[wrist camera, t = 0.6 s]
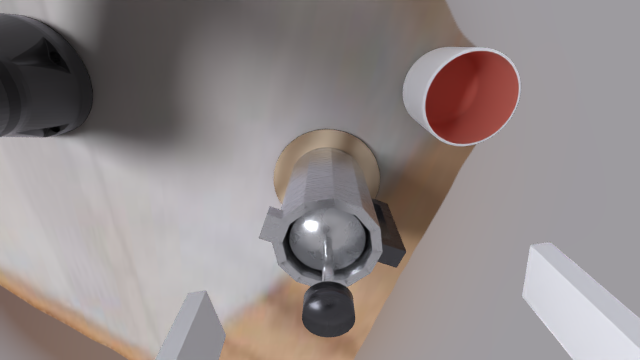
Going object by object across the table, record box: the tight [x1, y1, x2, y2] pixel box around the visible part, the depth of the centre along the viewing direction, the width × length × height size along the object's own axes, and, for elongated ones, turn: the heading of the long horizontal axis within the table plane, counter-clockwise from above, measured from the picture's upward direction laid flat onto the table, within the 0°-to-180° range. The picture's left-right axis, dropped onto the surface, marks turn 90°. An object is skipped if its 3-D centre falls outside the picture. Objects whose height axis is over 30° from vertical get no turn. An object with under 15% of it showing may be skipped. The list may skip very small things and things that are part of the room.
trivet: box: [274, 129, 380, 204], centre depth 46 cm, size 16×16×1 cm
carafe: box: [259, 147, 406, 287], centre depth 38 cm, size 16×11×16 cm
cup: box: [403, 47, 521, 146], centre depth 35 cm, size 10×10×10 cm
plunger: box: [290, 208, 365, 337], centre depth 28 cm, size 8×8×11 cm
